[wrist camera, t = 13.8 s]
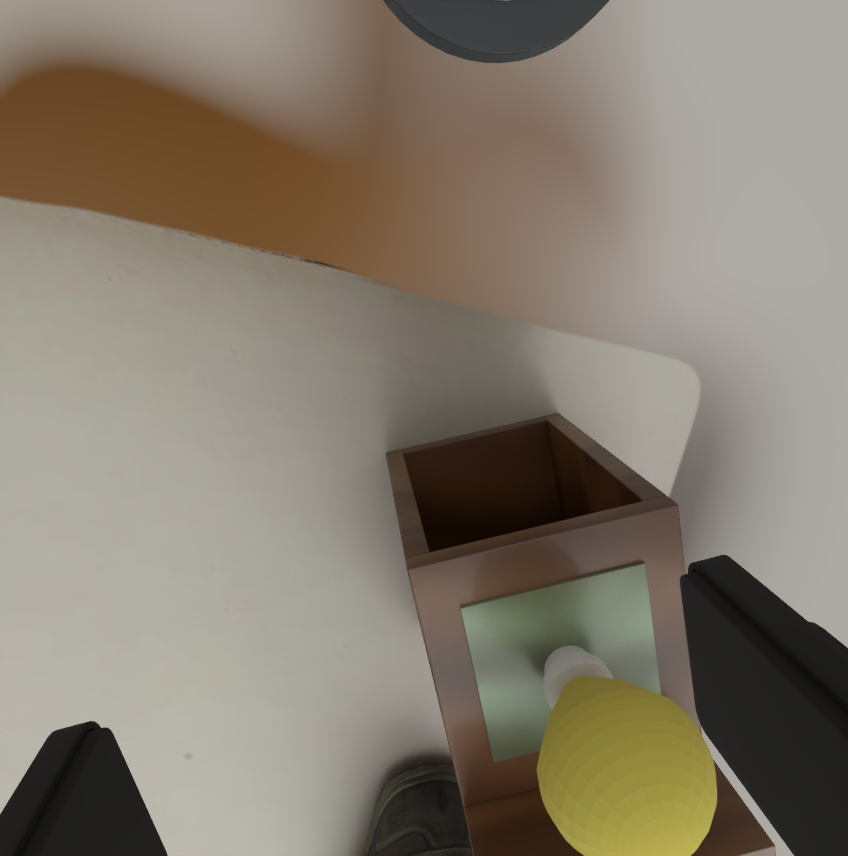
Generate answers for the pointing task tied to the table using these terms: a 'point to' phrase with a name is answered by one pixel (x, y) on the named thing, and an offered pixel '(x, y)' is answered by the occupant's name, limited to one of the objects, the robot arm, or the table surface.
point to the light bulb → (621, 764)
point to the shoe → (420, 816)
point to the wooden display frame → (541, 609)
